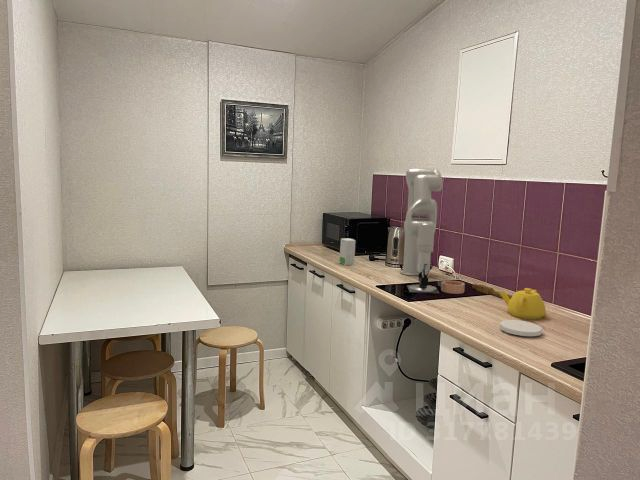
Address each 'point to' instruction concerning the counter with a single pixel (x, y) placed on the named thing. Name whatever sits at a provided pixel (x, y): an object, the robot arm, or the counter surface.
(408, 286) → the mat
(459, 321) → the counter surface
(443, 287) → the bowl
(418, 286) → the lid
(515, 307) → the teapot
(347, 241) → the white cylinder
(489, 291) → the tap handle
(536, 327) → the plastic lid
